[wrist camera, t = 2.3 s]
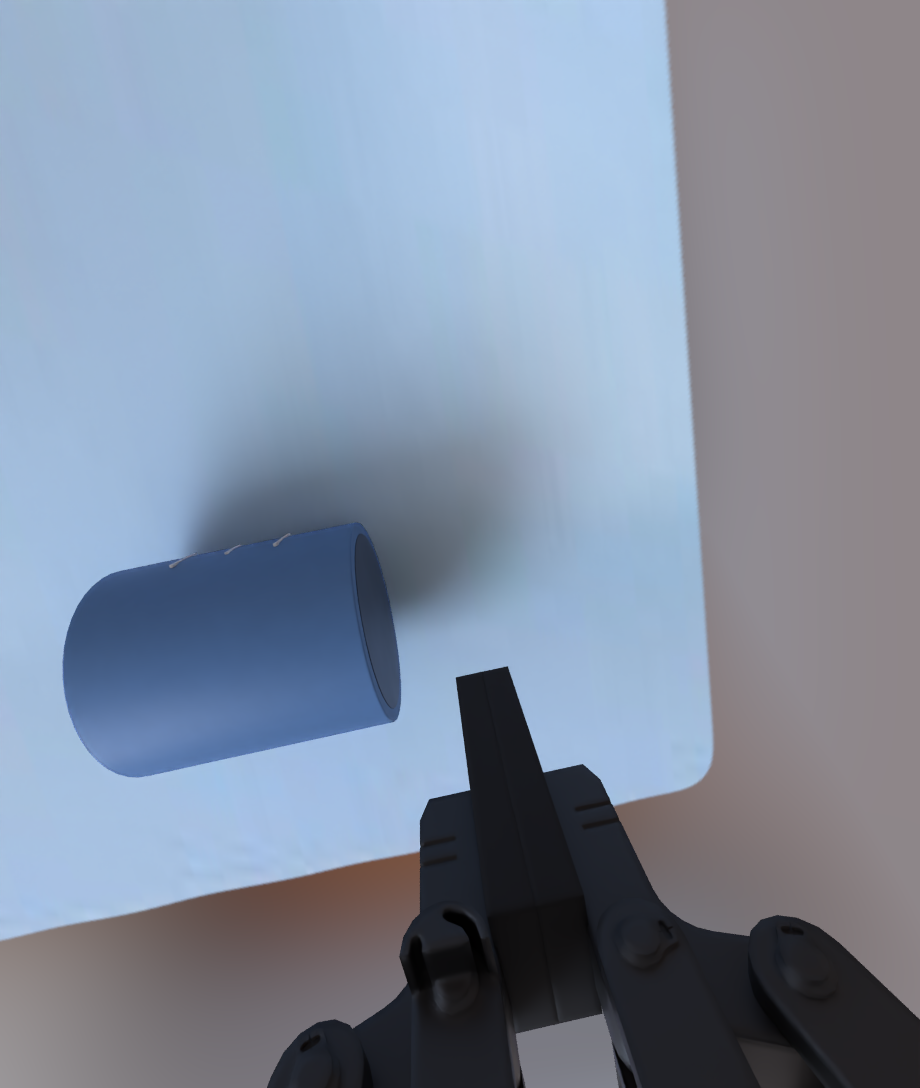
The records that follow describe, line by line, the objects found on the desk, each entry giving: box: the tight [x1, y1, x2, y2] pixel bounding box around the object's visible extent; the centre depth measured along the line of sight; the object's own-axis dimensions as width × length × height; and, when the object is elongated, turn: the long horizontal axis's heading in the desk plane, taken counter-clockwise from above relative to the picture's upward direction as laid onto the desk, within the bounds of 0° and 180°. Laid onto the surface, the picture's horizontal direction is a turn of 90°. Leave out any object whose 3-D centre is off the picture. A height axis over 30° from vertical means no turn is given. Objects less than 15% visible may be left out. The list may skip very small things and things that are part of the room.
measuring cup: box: [63, 522, 401, 777], centre depth 20 cm, size 10×8×8 cm
